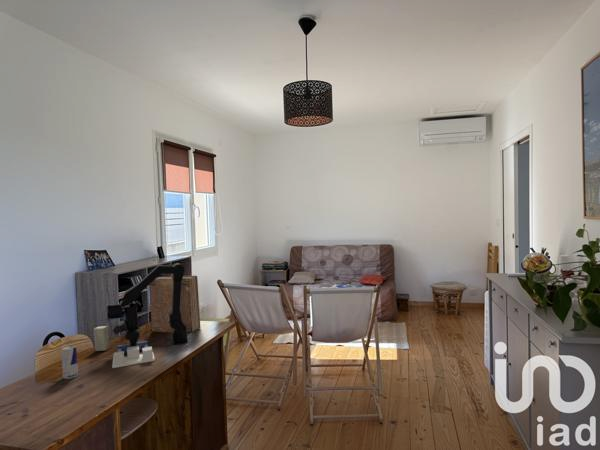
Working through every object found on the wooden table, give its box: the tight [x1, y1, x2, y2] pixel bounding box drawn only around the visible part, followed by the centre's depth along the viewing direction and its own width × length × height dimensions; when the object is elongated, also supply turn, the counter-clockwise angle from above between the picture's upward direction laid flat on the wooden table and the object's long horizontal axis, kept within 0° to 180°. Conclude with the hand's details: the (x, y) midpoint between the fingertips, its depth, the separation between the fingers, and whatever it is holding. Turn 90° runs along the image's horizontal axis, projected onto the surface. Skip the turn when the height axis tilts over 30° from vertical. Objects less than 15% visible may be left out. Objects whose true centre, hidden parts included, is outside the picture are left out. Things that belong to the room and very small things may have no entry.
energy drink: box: [60, 345, 79, 380], centre depth 168 cm, size 5×5×12 cm
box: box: [93, 325, 111, 352], centre depth 202 cm, size 5×4×11 cm
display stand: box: [111, 346, 155, 369], centre depth 183 cm, size 10×17×5 cm, turn 113°
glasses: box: [117, 340, 149, 354], centre depth 194 cm, size 10×13×4 cm
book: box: [148, 275, 201, 334], centre depth 229 cm, size 25×9×30 cm, turn 74°
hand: (133, 348), depth 197 cm, fingers closed on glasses, 2 cm apart
